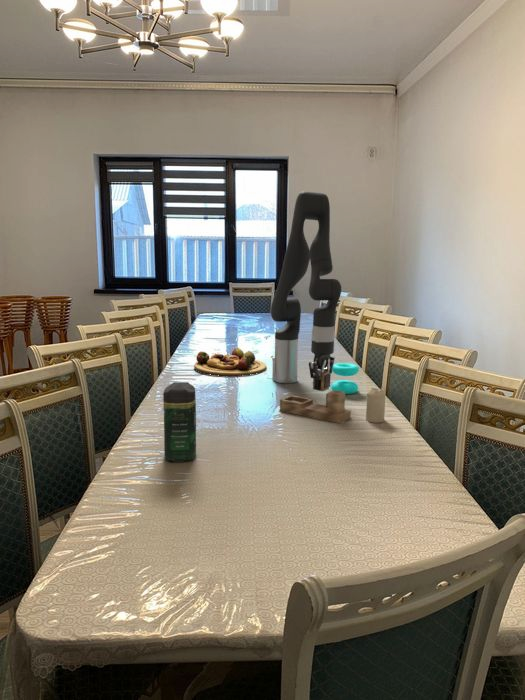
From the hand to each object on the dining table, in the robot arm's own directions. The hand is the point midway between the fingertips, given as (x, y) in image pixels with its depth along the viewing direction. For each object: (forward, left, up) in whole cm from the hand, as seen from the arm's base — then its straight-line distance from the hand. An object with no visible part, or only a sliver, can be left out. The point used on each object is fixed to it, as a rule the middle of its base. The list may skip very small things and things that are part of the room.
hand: (320, 388), depth 176 cm
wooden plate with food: (-59, +23, -6) cm, 63 cm away
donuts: (0, +19, -5) cm, 20 cm away
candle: (+23, -6, -5) cm, 24 cm away
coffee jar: (-5, -62, -5) cm, 63 cm away
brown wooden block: (0, 0, 0) cm, 0 cm away
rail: (+5, -12, -5) cm, 14 cm away
